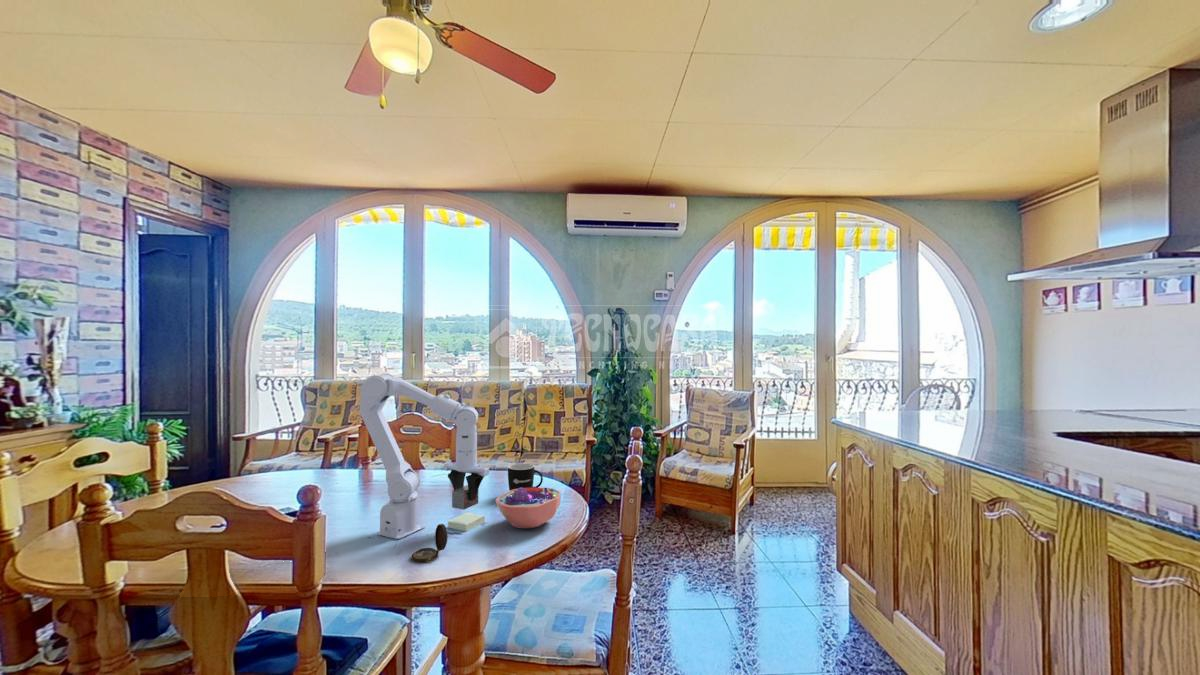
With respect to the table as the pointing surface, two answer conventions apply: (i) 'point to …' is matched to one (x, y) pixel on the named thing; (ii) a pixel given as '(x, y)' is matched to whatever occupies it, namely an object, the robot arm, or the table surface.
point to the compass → (431, 553)
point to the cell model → (529, 506)
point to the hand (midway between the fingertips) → (465, 498)
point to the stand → (466, 521)
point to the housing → (462, 498)
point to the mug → (522, 476)
